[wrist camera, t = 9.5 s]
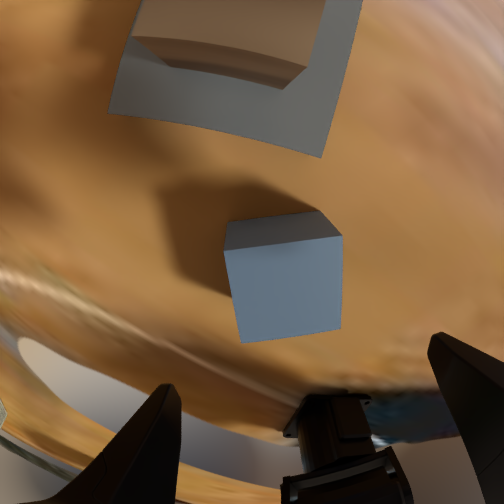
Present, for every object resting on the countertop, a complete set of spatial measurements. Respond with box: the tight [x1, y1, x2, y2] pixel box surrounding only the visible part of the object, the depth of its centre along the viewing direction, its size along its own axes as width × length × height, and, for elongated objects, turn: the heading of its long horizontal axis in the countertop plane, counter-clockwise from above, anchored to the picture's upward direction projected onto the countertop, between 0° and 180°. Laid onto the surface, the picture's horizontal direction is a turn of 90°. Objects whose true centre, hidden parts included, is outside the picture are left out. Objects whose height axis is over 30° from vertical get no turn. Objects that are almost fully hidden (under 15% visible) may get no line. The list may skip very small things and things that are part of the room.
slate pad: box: [107, 0, 363, 158], centre depth 11 cm, size 10×10×2 cm
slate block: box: [224, 211, 343, 343], centre depth 15 cm, size 5×5×4 cm
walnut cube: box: [131, 0, 326, 90], centre depth 8 cm, size 5×5×5 cm
